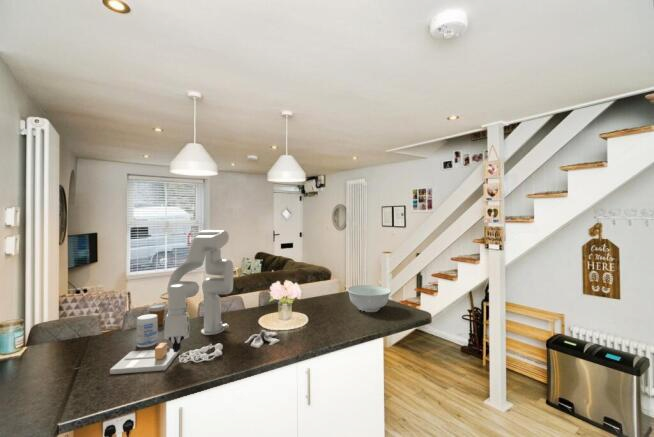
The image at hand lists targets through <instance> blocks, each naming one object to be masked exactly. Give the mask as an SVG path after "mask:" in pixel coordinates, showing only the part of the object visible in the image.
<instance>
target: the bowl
mask: <svg viewBox="0 0 654 437" xmlns="http://www.w3.org/2000/svg"><path fill="white" fill-rule="evenodd" d="M346 291H347V292H348V295H349V299H350V302H351V303H352V304H353V305H354V306H355V307H357V309H358V310H359V311H360V310H361V312H363V311H365V312H364V313H376V312H378V310H379V311H380V309H381V308H383V307H384V306H385V305H387V303H388V301H389V297H390V295H391V293H392V290H391V289H390V288H388V287H386V286H380V285H372V284H371V285H370V284H367V285H365V284H360V285H352V286H349V287H347V289H346Z"/></svg>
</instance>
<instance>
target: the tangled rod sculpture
mask: <svg viewBox="0 0 654 437" xmlns="http://www.w3.org/2000/svg"><path fill="white" fill-rule="evenodd" d="M223 346H224V345H223V344H222V343H221V342H220V343H219V342H218V343H216V344H214V345H212V343H210V344H209V345H207V346H203V347H201V348H199V349H198V348H196V349H193V350H192V349H191V350H189V351H186V352H183V353H182V354H180V355H179V356H178V359H179V360H178V362H179V363H184V364H186V363H187V362H190V361H191V362H194V363H201V362H204V361H212V360H214V359H215V358H218V357H220V356H222V355H223V351H222V350H223V348H224V347H223ZM212 348H214V352H211V353H210V354H208V353H207V352H208V350H210V349H212ZM188 354H189V355H188ZM211 356H213V357H211ZM209 357H211V358H209ZM199 359H201V360H199Z"/></svg>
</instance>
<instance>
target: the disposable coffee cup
mask: <svg viewBox="0 0 654 437" xmlns="http://www.w3.org/2000/svg"><path fill="white" fill-rule="evenodd" d="M147 310H148V312H149V313H148V314H156V315H157V318H158V327H160V326H162V325H164V317H165V316H164V315H165V310H166V305H165V304H164V303H159V304H158V303H157V304H156V303H155V304H153V305H150V306H149V307H148V308H147Z"/></svg>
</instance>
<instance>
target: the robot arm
mask: <svg viewBox="0 0 654 437" xmlns="http://www.w3.org/2000/svg"><path fill="white" fill-rule="evenodd" d="M229 237H230V236H229V233H228V231H227V230H225V229H224V230H220V229H215V230H214V229H206V230H205V229H204V230H200V231H199V232H198V233H197V236H195V237H194V238H193V239H192V241H191V244H190V246H189V250H188V252H187V256H186V259H185V260H184V261H183V263H180V264H179V265H178V266H177V267H176V269H175V270H174V271H173V272H172V274H171V275H170V279H169V281H168V284H167V292H166V293H167V294H168V295H167V302H168V303H167V314H166V316H165V322H164V326H163V327H164V331H163V333H164V334H163V335H164V337H163V339H165V340H167V341H170V342H171V344H172V349H173V350H174V352H178V351H179V352H180V350H181V346H182V343H181V342H182V341H183V340H185V339H188V338H189V337H190V331H191V329H190V328H191V327H190V325H191V324H190V318H189V316H190V315H189V313H188V312H189V311H190V308H188V307H187V299H188V298H193V297H195V296H196V295H197V294H198V293H199V291H200V285H199V284H198V282H196V281H188V280H187V281H186V280H185V281H184V280H181V279H182V278H183V277H184V276H185V275H186V274H188V273H190V272H192V271H194V270H196V269H199V268H201V267H202V266H203V265H204V264H205V265H204V266H205V267H204V268H205V270H204V271H205V273H206V274H207V275H208V276H214V277H207V278H205V279H204V280H203V281H202V283H201V289H202V290H201V291H202V295H203V328H202V329H200V334H202V335H205V336H212V335H218V334H220V333H222V332H224V330H225V329H229V324H228V323H223V321H222V300H221V297H220V296H219V295H229V294H231V293H232V292H233V290H234V269H235V268H234V263H233V261H232V260H231V259H228V258H226V259H225V258H222V256H221V255H222V250H221V249H222V248H223V247H224V246H226V245H227V243H228V242H229ZM204 261H205V263H204ZM215 276H222V277H215Z"/></svg>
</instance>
